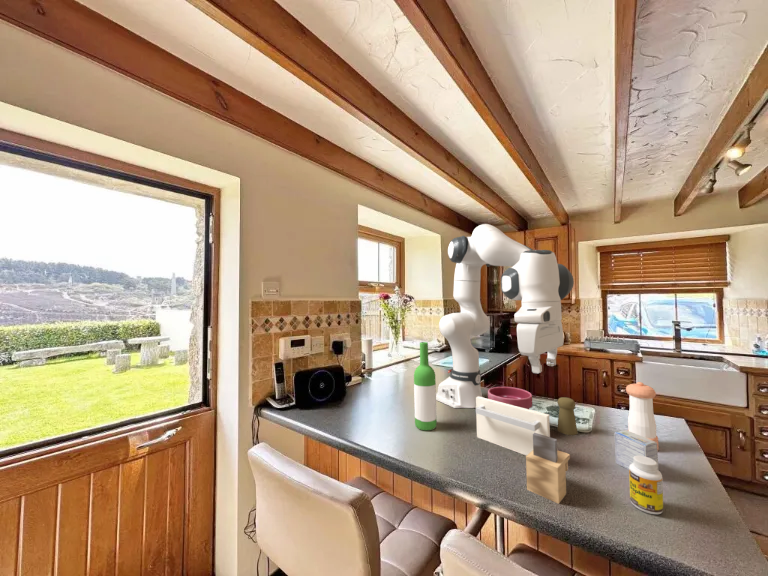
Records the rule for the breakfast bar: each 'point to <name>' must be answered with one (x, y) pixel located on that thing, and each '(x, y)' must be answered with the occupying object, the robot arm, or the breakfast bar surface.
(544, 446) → the oak cabinet block
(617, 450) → the medicine box
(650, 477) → the supplement bottle
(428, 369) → the wine bottle
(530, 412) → the wall board
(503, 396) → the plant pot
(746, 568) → the breakfast bar surface
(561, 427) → the pepper shaker
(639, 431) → the pepper shaker
